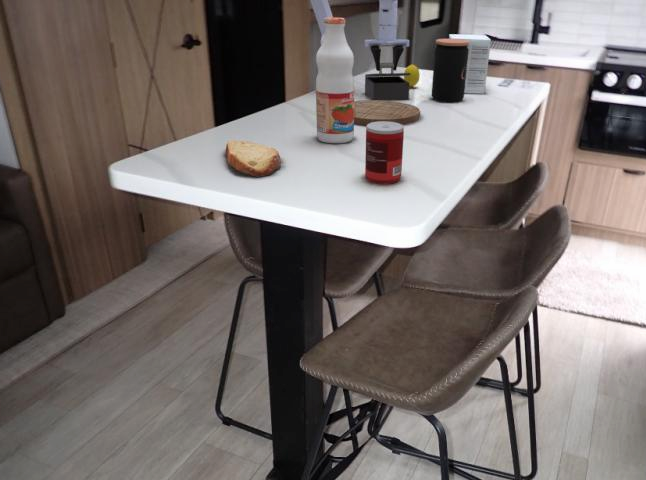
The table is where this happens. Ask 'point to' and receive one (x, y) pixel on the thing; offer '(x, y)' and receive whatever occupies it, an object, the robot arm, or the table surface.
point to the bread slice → (252, 158)
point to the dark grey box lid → (387, 65)
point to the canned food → (384, 152)
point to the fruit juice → (335, 85)
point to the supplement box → (476, 61)
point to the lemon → (412, 75)
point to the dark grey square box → (387, 88)
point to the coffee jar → (450, 70)
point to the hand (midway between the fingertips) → (385, 70)
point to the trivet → (384, 112)
